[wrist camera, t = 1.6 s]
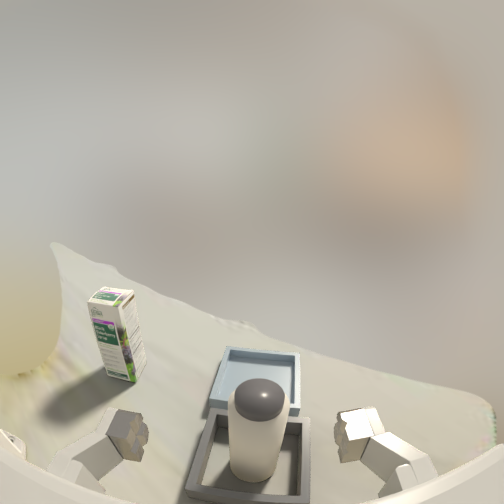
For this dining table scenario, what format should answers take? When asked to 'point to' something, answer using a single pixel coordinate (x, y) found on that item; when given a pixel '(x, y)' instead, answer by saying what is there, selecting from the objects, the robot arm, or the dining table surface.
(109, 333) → the syrup box
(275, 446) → the canister
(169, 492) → the dining table surface
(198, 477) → the frame
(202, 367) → the dining table surface
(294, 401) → the tray
